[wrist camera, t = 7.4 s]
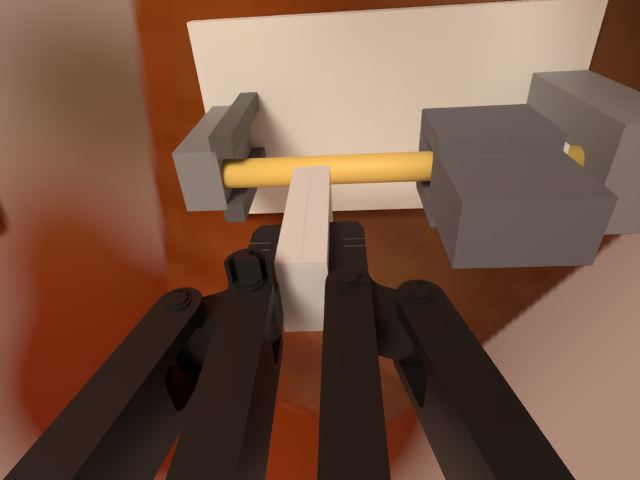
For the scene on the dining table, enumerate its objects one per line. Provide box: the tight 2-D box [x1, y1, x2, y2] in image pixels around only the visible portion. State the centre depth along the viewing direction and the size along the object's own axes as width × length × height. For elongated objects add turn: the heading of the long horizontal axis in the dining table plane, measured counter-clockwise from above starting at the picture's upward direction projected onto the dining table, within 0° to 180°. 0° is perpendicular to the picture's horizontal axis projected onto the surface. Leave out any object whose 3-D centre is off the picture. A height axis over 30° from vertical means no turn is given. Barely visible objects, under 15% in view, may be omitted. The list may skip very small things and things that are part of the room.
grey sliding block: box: [416, 104, 618, 269], centre depth 18 cm, size 4×5×8 cm
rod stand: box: [172, 0, 640, 234], centre depth 22 cm, size 12×22×10 cm, turn 93°
